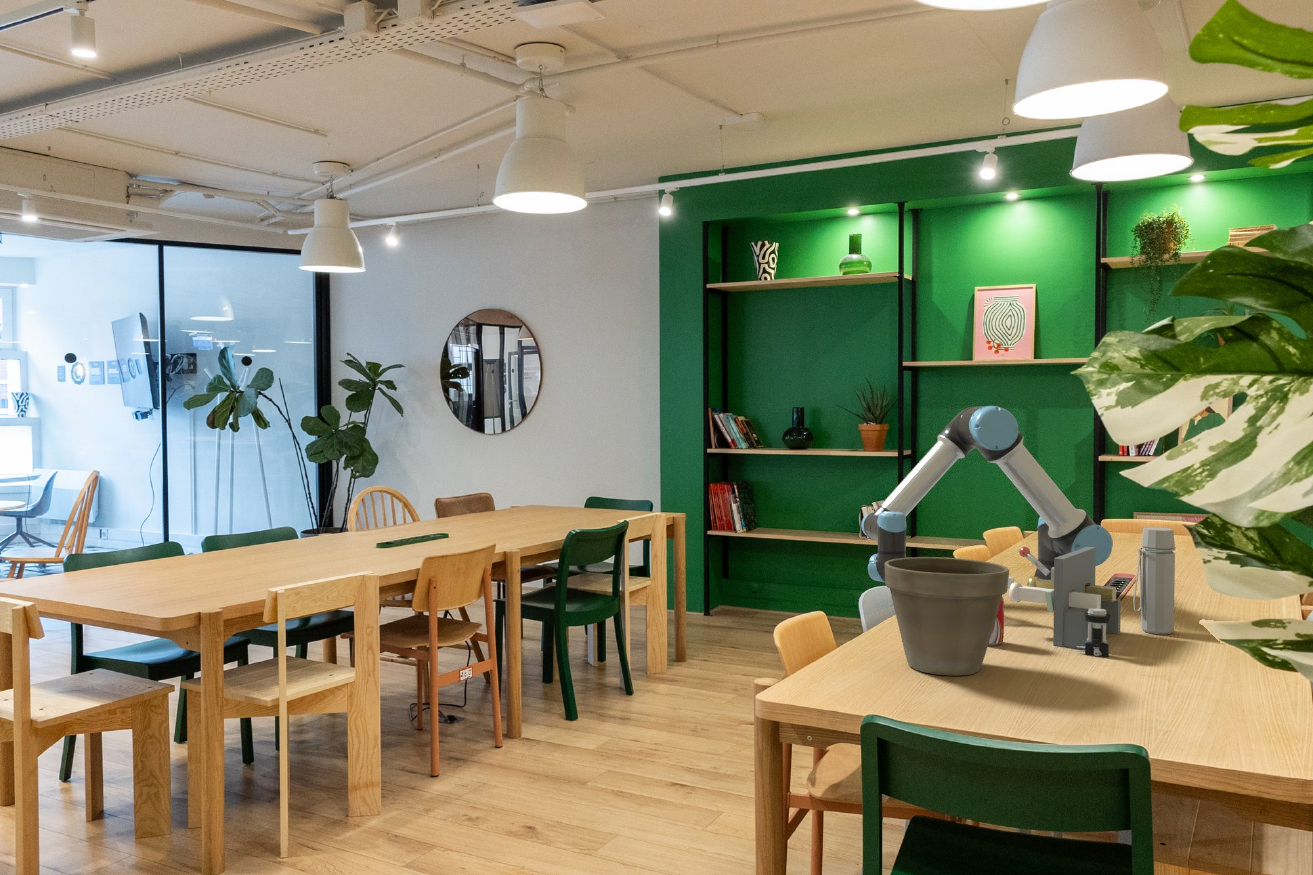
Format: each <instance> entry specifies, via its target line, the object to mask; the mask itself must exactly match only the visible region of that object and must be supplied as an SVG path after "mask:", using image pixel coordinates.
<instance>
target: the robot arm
mask: <svg viewBox="0 0 1313 875" xmlns="http://www.w3.org/2000/svg"><path fill="white" fill-rule="evenodd" d="M936 438H937V441H936V443H935V444H933V446H932V447H931V448H930V449H929V450H928V451H927V452H926V454H925V455H924V456H922V459H920V460H919V462H918V463H917V464H916V465H915V466H914V467H913V468H912V470H910V471H909V473H908V474H907V475H906V476H905V477H904V479H903V480H901V482H899V484H898V485H897V486H896V487H895V488H894V490H893V491H892V492H891V493H889V495H888V496H887V498H885V499H884V500H883V502H882V503H881V504H880V505H879V506H878V507H877V508H876V509H875V510H874V511H873V512H871V513H868V514H866V515H864V517H863V518H862V520H861V530H862V532H863V534H864V535H865V536H866V537H867V538H868V539H870V540H872V541H876V542H877V553H875V554H873V555H871V557H870V558H869V561H868V562H869V563H868V565H867V571H868V575H869V577H870V578H871V580H873V581H876V582H881V583H885V562H887V561H889V560H893V559H900V558H912V557H907V556H906V552H907V550H906V549H907V527H908V525H907V518H906V517H907V516H908V515H909V513H910V512H912V510H913V509H914V508H915V507H916V506H917V505H918V504H919V502H921V501H922V499H923V498H924V497H925V496H926V495H927V494H928V493H929V492H930V490H932V488H933V487H934V486H935V485H936V484H937V483H938V482H939V480H940V479H942V477H943V476H944V475H945V474H946V473H947V471H949V470H950V468H951V467H952V466H953V465H954V464H955V463H956V462H957V461H958V460H959V459H964V458H966V456H968V454H969V453H970V452H971V451H973V450H974V449H977V450H978V451H979V453H980V454H981V455H982V457H983V458H985V460H986V461H987V463H993V464H996V465H997V466H998V467H999V468H1000V469H1001V471H1002V472H1003V473H1004V474H1005V476H1006V477H1007V478H1008V479H1009V480H1010V481H1011V482H1012V484H1013V485H1014V486H1015V488H1016V489H1017V490H1018V491H1019V492H1020V494H1021V495H1022V496H1023V497H1024V498H1025V499H1026V502H1027V503H1029V504H1030V506H1031V507H1032V508H1033V509H1034V511H1035V512H1036V513H1037V515H1039V518H1038V520H1037V521H1038V523H1037V560H1038V561H1039V562H1041V563H1042V564H1043V565H1044V566H1045V567H1046V568H1047V569H1048V570H1049V571H1050V573H1049V574H1048V575H1047V576H1046V575H1044V574H1043V573H1042V572H1041V571H1040V570H1039V569H1038V568H1037V567H1036V569H1035V572H1034V575H1033V576H1034V577H1039V579H1044V580H1051V568H1053V567H1054V558H1056V557H1059V556H1062V555H1065V554H1068V553H1071V552H1074V551H1076V550H1079V549H1082V548H1085V547H1096V564H1095V567H1099V566H1101V565H1102V564H1104V563H1105V562H1106V561H1107V560H1108V559H1109V557H1110V556H1111V554H1112V552H1113V546H1114V542H1113V537H1112V535H1111V533H1110V531H1108V529H1106V528H1105V527H1104V526H1102V525H1099V524H1096V523H1095V522H1094V521H1093V519H1092V518H1091V517H1090V515H1089V514H1088V513H1087V512H1086V511H1085V510H1084V509H1082V508H1076V507H1075V506H1074V505H1073V504H1072V503H1071V501H1070V500H1069V499H1068V498H1067V496H1065V494H1064V492H1062V491H1061V489H1060V488H1059V487H1058V485H1057V484H1056V483H1055V482H1054V480H1052V478H1051V477H1050V476H1049V475H1048V473H1047V472H1046V471H1045V469H1044V468H1043V467H1042V466H1041V465H1040V464H1039V462H1037V460H1036V459H1035V458H1034V457H1033V455H1032V454H1031V453H1030V452H1029V450H1028V449H1027V447H1026V446H1025V445H1024V444H1023V442H1024V435H1023V434H1022V432H1020V430H1019V423H1018V421H1017V418H1016V417H1015V416H1014V415H1013V414H1012V412H1010V411H1009V410H1007V409H1005V408H1003V407H1001V406H998V405H986V406H984V405H983V406H978V405H977V406H974V405H973V406H969V407H966V408H964V409H963V410H961V411H960V412H959V413H957V415H955V416H954V417H953V419H951V421H949V422H948V424H947V425H946V426H945V427H944V428H943V429H942V431H941V432H940V433H939V434H938V435H937V437H936ZM1014 578H1015V577H1010V576H1009V578H1008V589H1007V590H1010V586H1011V584H1012V583H1015V579H1014Z"/></svg>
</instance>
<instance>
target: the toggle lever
mask: <svg viewBox="0 0 1313 875" xmlns="http://www.w3.org/2000/svg"><path fill="white" fill-rule="evenodd" d="M1018 552H1019V555H1020V556H1021V557H1023V558H1026V559H1027V560H1028V561H1029V562H1031V564H1032V565H1033V566H1035V567H1036V569H1037V568H1038V569H1039V570H1040V571H1041V572H1042V573H1043V574H1044V575H1046V576H1047V575H1048V574H1049V573H1050V571H1049V570H1048V569H1047V568H1046V567H1045V566H1044V565H1043V564H1042V563H1041V562H1039V561H1038V558H1036V557H1035V555H1033V554H1032V553H1031V550H1030V548H1029V547H1027V546H1022V547H1020V548H1019V551H1018Z"/></svg>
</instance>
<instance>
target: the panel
mask: <svg viewBox="0 0 1313 875" xmlns="http://www.w3.org/2000/svg"><path fill="white" fill-rule="evenodd" d="M1095 564H1096V547H1085V548H1082V549H1079V550H1076V551H1074V552H1071V553H1068V554H1065V555H1062V556H1059V557H1056V558H1054V567H1053V568H1051V582H1054V611H1053V629H1052V630H1053V636H1052V638H1053V639H1052V641H1053V644H1052V646H1053V647H1061V648H1063V647H1064V648H1069V649H1077V650H1082V651H1085V648H1080V647H1077V646H1083V647H1085V642H1086V641H1087V639H1088V621H1086V620H1085V615H1084V613H1085V612H1088V609H1084V608H1076V607H1069V591H1072V592H1080V593H1085V584H1089V585H1096V566H1095ZM1121 600H1122V599H1117V598H1116V600H1115V601H1113V602H1108V601H1101V608H1100V609H1105V610H1106V613H1107V614H1110V615H1111V617H1110V618H1109V622H1108V623H1106V634H1107V633H1108V634H1115V635H1118V634H1120V633H1121V612H1122V611H1121V610H1122V608H1121V607H1122V606H1121V603H1122V602H1121ZM1092 627H1093V624H1091V641H1090V642H1092ZM1101 628H1102V633H1103V625H1101Z"/></svg>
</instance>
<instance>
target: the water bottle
mask: <svg viewBox="0 0 1313 875" xmlns="http://www.w3.org/2000/svg"><path fill="white" fill-rule="evenodd" d="M1174 532H1175V531H1174V529H1173V528H1168V527H1158V526H1157V527H1156V526H1155V527H1153V526H1152V527H1151V526H1150V527H1143V528H1142V537H1141V548H1138V549H1137V551H1138V556H1139V557H1138V563H1137V568H1136V569H1137V570H1136V577H1135V578H1136V579H1135V585H1134V591H1133V592H1134V593H1133V599H1132V601H1133V602H1132V603H1133V604H1132V605H1133V611H1134V612H1136V613H1139V612H1141V613H1140V628H1141V630H1142V631H1144V632H1145V633H1148V634H1152V635H1159V636H1160V635H1161V636H1165V635H1170V634H1173V632H1174V631H1175V584H1176V583H1175V582H1176V580H1175V579H1176V577H1175V574H1176V573H1175V572H1176V553H1175V551H1176V546H1175V545H1176V544H1175V534H1174ZM1138 578H1139V579H1138ZM1138 580H1139V608H1138V609H1137V608H1136V597H1137V596H1136V595H1137V589H1138V588H1137V587H1138Z"/></svg>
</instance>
